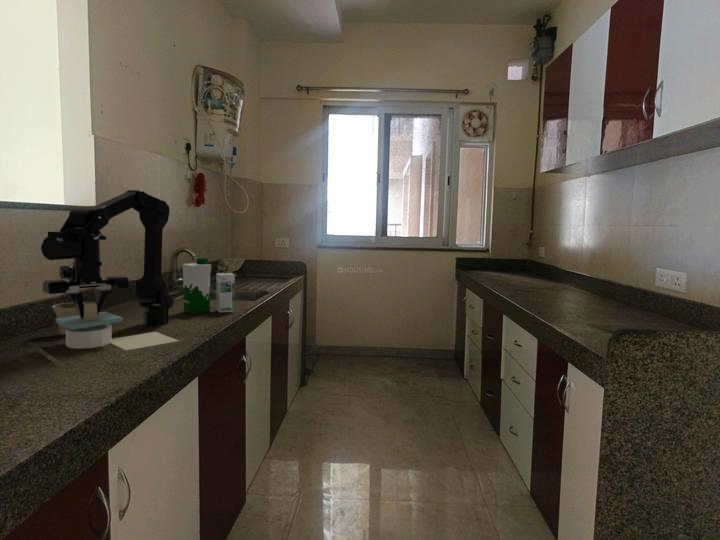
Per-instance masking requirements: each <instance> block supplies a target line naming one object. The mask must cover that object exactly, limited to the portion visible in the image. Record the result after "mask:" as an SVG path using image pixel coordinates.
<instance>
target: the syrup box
mask: <svg viewBox="0 0 720 540" xmlns="http://www.w3.org/2000/svg"><path fill="white" fill-rule="evenodd" d="M235 276H236V275H235V273H234V272H221V273H220V272H218V273H216V311H217V312H218V313H219V314H222V313H235V311H236V309H235V308H236V307H235V306H236V305H235V304H236V303H235V301H236V300H235V299H236V298H235V297H236V296H235V293H236V292H235V290H236V289H235V284H236V283H235V281H236V280H235V279H236V277H235Z"/></svg>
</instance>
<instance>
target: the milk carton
mask: <svg viewBox="0 0 720 540" xmlns="http://www.w3.org/2000/svg"><path fill="white" fill-rule="evenodd" d="M211 271H212V264H210V263H209V258H206V257H198V258H196V262H195V263H194V262H193V263H191V262H189V263H182V273H183V274H182V279H183V282H182V287H183V297H182V299H183V312H184V313H186V314H189V315H199V314H198V313H201V314H207V313H206V312H210V313H211Z"/></svg>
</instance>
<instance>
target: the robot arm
mask: <svg viewBox="0 0 720 540" xmlns="http://www.w3.org/2000/svg"><path fill="white" fill-rule="evenodd" d="M130 209H132V210H134V211H135V212H137V213H138V214H139V215H138V216H139V220H140V222H141V224H142V226H143V228H144V249H143V250H144V251H143V252H144V254H143V275H142V277H141V278H140V280H136V281H135V288H136V289H135V295H136V299H137V301H138V303H139V306H140V308H144V311H143V313H142V314H143V315H142V319H143V320H142V322H143V323H142V324H143V325H144V326H146V327H158V326H165V325H167V324H170V322H169V319H170V317H169V313H170V312H169V309H171V308H173V306H174V302H175V300H174V298H173V297H172V296H171V295H170V294H169V292H168V288H167V283H166V281H165V279H164V277H163V276H162V261H163V260H162V259H163V258H162V257H163V231H164V228H165V227H166V225H167V224H168V222H169V218H170V205H168V202H166V201H165V200H163V199H159V198H158V197H155V196H152V195H150V194H148V193H147V192H145V191H144V190H141V189H128V190H126V191H125V192H124V193H122V194H119V195H117V196H115V197H111V198H110V199H107V200H106V201H104V202H100V203H99V204H96V205H90V206H89V205H87V206H82V207H77V208H73V209H71V210H70V211H69V213H68V214H69V215H68V216H67V219H65V222H64V223H63V225H62V226H61V228H60V230H59V231H54V230H53V231H47V236H46V237H45V238H44V239H43V241H42V243H41V245H40V249H41V253H42V255H43V256H44V258H45V259H46V260H49V261H56V260H57V261H58V260H73V261H72V267H71V266H70V265H61V266H59V279H47V280H44V281H43V282H42V292H43V293H45V294H49V295H56V294H63V295H67V296H69V298H70V299H71V300H72V303H73V302H74V304H75V307H76V309H77V311H78V313H79V316H80V318H83V315H84V308H83V302H84V293H83V292H81V291H80V290H81V289H90V288H91V289H92V288H93V293H94V302H95V303H97V315H98V314H99V313H100V312H101V310H102V307H103V305H104V303H105V301H106V299H107V298H108V296H109V295H110V294H111V293H114V290H113V289H111V288H112V287H115V288H116V289H128V288H131V287H130V284H131V283H130V279H129V278H128V277H126V276H122V275H114V276H107V277H106V279H103V277H101V267H102V266H103V265H102V263H103V262H102V261H101V242H100V241H104V240H105V241H106V240H107V237H106V236H105V234H103V233H102V232H101V230H102V229H104V228H105V227H106V226H108V224H109V223H110V220H111V219H113V218H115V217H116V216H119V215H120V214H122V213H125V212H126V211H129V210H130ZM67 280H68V281H67Z"/></svg>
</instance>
